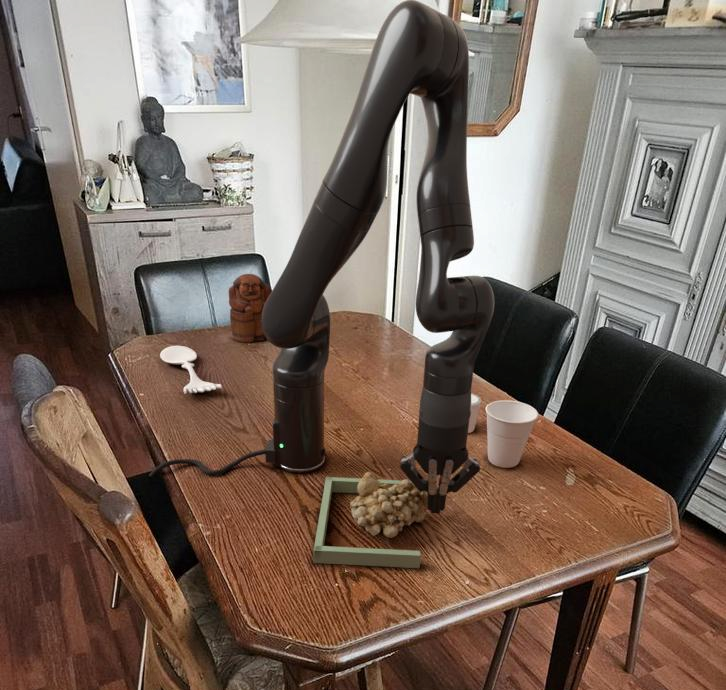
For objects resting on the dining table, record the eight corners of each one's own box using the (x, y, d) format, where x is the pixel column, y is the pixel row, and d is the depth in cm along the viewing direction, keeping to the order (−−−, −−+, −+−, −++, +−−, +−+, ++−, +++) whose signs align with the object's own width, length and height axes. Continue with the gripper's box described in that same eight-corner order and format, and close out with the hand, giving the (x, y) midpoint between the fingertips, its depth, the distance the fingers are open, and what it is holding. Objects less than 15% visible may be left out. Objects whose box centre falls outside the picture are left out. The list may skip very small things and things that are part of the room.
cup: (518, 479, 119) (528, 427, 114) (470, 464, 124) (477, 413, 118) (535, 458, 127) (545, 408, 121) (489, 444, 131) (497, 395, 125)
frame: (313, 563, 96) (313, 550, 95) (325, 488, 114) (326, 476, 113) (419, 568, 96) (420, 555, 95) (414, 492, 114) (416, 481, 113)
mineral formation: (436, 514, 108) (403, 558, 96) (367, 504, 114) (327, 545, 102) (434, 471, 105) (400, 511, 93) (363, 464, 111) (321, 500, 99)
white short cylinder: (476, 436, 134) (480, 406, 130) (444, 432, 135) (447, 402, 131) (477, 422, 139) (482, 393, 136) (447, 419, 140) (450, 390, 137)
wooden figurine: (236, 344, 176) (231, 279, 167) (230, 337, 181) (225, 273, 172) (276, 339, 181) (274, 275, 171) (270, 332, 186) (267, 270, 176)
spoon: (185, 404, 142) (183, 390, 141) (157, 356, 166) (155, 344, 165) (224, 398, 146) (223, 384, 144) (191, 352, 170) (190, 340, 168)
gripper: (485, 405, 97) (473, 500, 106) (399, 402, 97) (394, 497, 106) (492, 427, 90) (478, 525, 99) (400, 424, 91) (394, 522, 100)
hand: (435, 510), depth 103 cm, fingers closed
